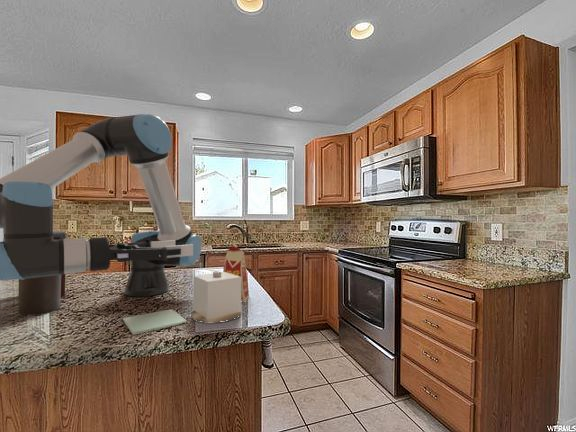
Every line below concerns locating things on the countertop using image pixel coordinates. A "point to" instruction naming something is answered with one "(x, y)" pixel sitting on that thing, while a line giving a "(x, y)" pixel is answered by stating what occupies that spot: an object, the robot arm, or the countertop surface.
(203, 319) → the gold plate
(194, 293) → the white box with knob
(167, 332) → the countertop surface
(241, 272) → the milk carton
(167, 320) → the mat
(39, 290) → the pillar candle
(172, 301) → the countertop surface
